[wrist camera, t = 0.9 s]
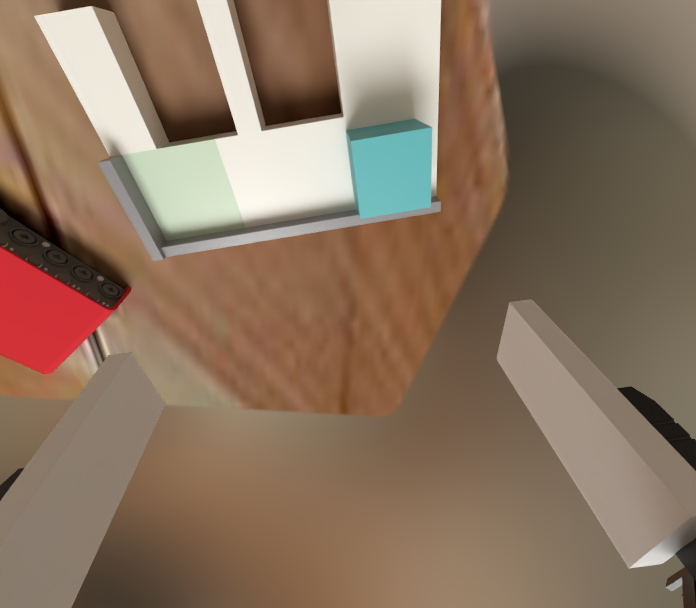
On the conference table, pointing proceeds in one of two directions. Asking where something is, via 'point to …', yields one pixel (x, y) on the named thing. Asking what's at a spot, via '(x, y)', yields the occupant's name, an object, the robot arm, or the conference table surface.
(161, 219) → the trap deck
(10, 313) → the red device housing
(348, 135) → the teal block
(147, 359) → the conference table surface
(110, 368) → the robot arm
